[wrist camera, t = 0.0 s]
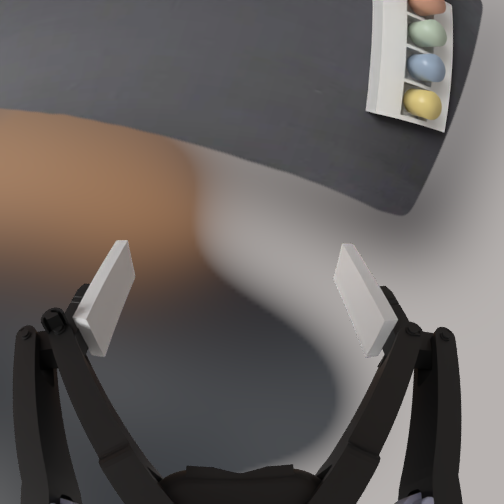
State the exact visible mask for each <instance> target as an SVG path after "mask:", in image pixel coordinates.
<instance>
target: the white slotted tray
mask: <svg viewBox="0 0 504 504" xmlns="http://www.w3.org/2000/svg"><path fill="white" fill-rule="evenodd" d="M445 4H446V10H445V12H444V13H441V14H435V15H430V16H420V15H418V14H416V13H415V12H414V11H413V10H412V9H411V7H410V6H409V3H408V0H373V23H372V47H371V62H370V75H369V86H368V95H367V104H366V111H368V112H372V113H376V114H380V115H384V116H389V117H393V118H397V119H401V120H404V121H408V122H412V123H415V124H419V125H422V126H425V127H429V128H432V129H435V130H438V131H441V132H444V131H445V125H446V119H447V112H448V105H449V96H450V87H451V75H452V57H453V18H452V5H451V4H449V3H447V2H445ZM429 19H433V20H436V21H438V22H439V23H440V24H441V25H442V26H443V28H444V29H445V31H446V35H447V41H446V43H445V45H443V46H436V47H419V46H417V45H416V44H415V43H413V41H412V40H411V38H410V37H409V34H408V27H409V25H410V24H411V23H414V22H419V21H424V20H429ZM413 54H435V55H437V56H438V57H440V59H441V60H442V61H443V63H444V65H445V70H446V73H445V77H444V79H443V80H442V81H441V82H430V81H421V80H416V79H414V78H413V77H412V76H411V75H410V74H409V72H408V69H407V59H408V57H409V56H411V55H413ZM412 88H413V89H421V90H428V91H433V92H435V93H436V94H437V95H438V96H439V98H440V100H441V103H442V111H441V114H440V116H439V117H438V118H437V119H435V120H429V119H426V118H422V117H419V116H415V115H412V114H410V113H409V112H408V111H407V110H406V109H405V107H404V103H403V97H404V94H405V92H406V91H407V90H409V89H412Z"/></svg>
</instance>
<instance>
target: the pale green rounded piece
mask: <svg viewBox="0 0 504 504" xmlns="http://www.w3.org/2000/svg"><path fill="white" fill-rule="evenodd" d="M408 34H409V37H410V38H411V40H412V41H413V43H415V44H416V45H417V46H419V47H436V46H443V45H445V43H446V41H447V35H446V31H445V29H444V28H443V26H442V25H441V24H440V23H439V22H438V21H436V20H433V19H429V20H424V21H419V22H414V23H411V24H410V25H409V27H408Z"/></svg>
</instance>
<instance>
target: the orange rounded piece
mask: <svg viewBox="0 0 504 504" xmlns="http://www.w3.org/2000/svg"><path fill="white" fill-rule="evenodd" d="M408 3H409V6H410V7H411V9H412V10H413V11H414V12H415V13H416V14H418V15H420V16H430V15H435V14H441V13H444V12H445V10H446V4H445V1H444V0H408Z"/></svg>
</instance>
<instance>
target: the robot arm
mask: <svg viewBox="0 0 504 504" xmlns="http://www.w3.org/2000/svg"><path fill="white" fill-rule="evenodd" d="M134 279H135V273H134V268H133V264H132V259H131V255H130V250H129V245H128V241H127V240H117V241H116V242H115V244H114V245H113V247H112V249H111V250H110V252H109V253H108V255H107V257H106V258H105V260H104V262H103V263H102V265H101V267H100V268H99V270H98V272H97V274H96V275H95V277H94V279H93V281H92V282H91V284H84V285H82V286H81V287H80V288H79V289H78V290H77V292H76V294H75V296H74V298H73V299H72V301H71V303H70V305H69V307H68V308H67V310H66V312H65V314H64V312H63V310H62V309H60V308H51V309H49V310H48V311H46V312H45V313H44V314H43V316H42V318H41V323H42V325H43V327H44V329H45V330H46V331H40V332H37V331H36V329H35V328H34V327H33V326H30V325H28V326H24V327H23V328H21V329H20V330H19V331H18V333H17V335H16V342H15V352H14V367H13V417H14V431H15V441H16V450H17V457H18V463H19V469H20V475H21V480H22V487H21V504H82V501H81V494H80V491H79V487H78V483H77V480H76V476H75V473H74V469H73V465H72V462H71V458H70V454H69V449H68V445H67V440H66V435H65V429H64V424H63V418H62V411H61V404H60V398H59V397H60V396H59V388H58V377H57V368H58V369H59V371H60V374H61V377H62V379H63V382H64V385H65V387H66V390H67V393H68V395H69V397H70V400H71V402H72V404H73V407H74V409H75V411H76V413H77V416H78V418H79V420H80V422H81V424H82V426H83V428H84V430H85V432H86V434H87V436H88V438H89V440H90V442H91V444H92V446H93V448H94V449H95V451H96V453H97V455H98V457H99V464H100V467H101V468H102V470H103V472H104V473H105V475H106V476H107V478H108V480H109V481H110V483H111V485H112V486H113V488H114V489H115V491H116V492H117V494H118V495H119V496H120V498H121V499H122V501H123V502H124V503H125V504H356V503H357V501H358V499H359V498H360V497H361V495H362V493H363V492H364V490H365V488H366V486H367V485H368V483H369V481H370V479H371V478H372V476H373V474H374V472H375V470H376V468H377V466H378V464H379V462H380V456H379V454H380V452H381V450H382V447H383V445H384V443H385V441H386V439H387V437H388V435H389V432H390V430H391V428H392V426H393V423H394V421H395V419H396V416H397V414H398V411H399V409H400V406H401V404H402V401H403V398H404V396H405V393H406V390H407V387H408V384H409V381H410V378H411V375H412V372H413V369H414V384H413V398H412V411H411V420H410V429H409V437H408V443H407V450H406V456H405V461H404V467H403V471H402V476H401V481H400V487H399V496H398V501H397V502H396V503H395V504H463V503H462V496H461V489H460V483H459V478H458V473H459V463H460V448H461V391H460V376H459V365H458V357H457V348H456V341H455V336H454V334H453V333H452V332H451V331H450V330H449V329H447V328H445V327H439V328H437V329H436V331H435V332H434V333H429V332H423V331H422V329H421V328H420V327H419V326H418V325H417V324H415V323H413V322H409V321H408V318H407V317H406V315H405V313H404V311H403V310H402V308H401V306H400V305H399V303H398V301H397V300H396V298H395V296H394V295H393V293H392V291H390V290H389V289H388V288H387V287H386V286H379V285H378V283H377V282H376V280H375V278H374V276H373V275H372V273H371V272H370V270H369V268H368V266H367V265H366V263H365V262H364V260H363V258H362V257H361V255H360V254H359V252H358V250H357V249H356V247H355V246H354V244H348V243H342V246H341V250H340V254H339V258H338V262H337V266H336V270H335V275H334V278H333V279H334V281H335V284H336V286H337V288H338V291H339V293H340V295H341V298H342V300H343V302H344V305H345V307H346V310H347V312H348V314H349V317H350V319H351V322H352V324H353V327H354V329H355V332H356V335H357V337H358V340H359V342H360V345H361V347H362V350H363V352H364V355H365V358H368V357H374V356H378V355H379V353H380V352H381V350H382V349H383V351H384V354H385V355H384V357H383V359H382V360H381V362H380V363H379V365H378V370H377V372H376V374H375V376H374V378H373V380H372V382H371V384H370V386H369V388H368V390H367V392H366V394H365V396H364V398H363V400H362V402H361V404H360V406H359V407H358V409H357V411H356V413H355V415H354V417H353V419H352V420H351V423H350V424H349V425H348V427H347V429H346V431H345V432H344V434H343V436H342V437H341V439H340V440H339V442H338V444H337V445H336V447H335V449H334V450H333V452H332V453H331V455H330V456H329V458H328V459H327V461H326V462H325V463H324V464H323V465H322V467H321V468H320V469H319V470H318V472H317V474H316V475H312V474H311V473H309V472H306V471H303V470H299V469H293V465H292V464H291V465H281V466H268V467H264V468H261V469H257V470H253V471H249V472H245V473H234V472H230V471H225V470H221V469H217V468H214V467H197V466H187V467H186V470H183V471H179V472H176V473H173V474H170V475H169V476H167V477H165V478H163V477H162V476H161V475H160V473H159V472H158V471H157V470H156V469H155V468H154V466H153V465H152V464H151V463H150V462H149V460H148V459H147V458H146V456H145V455H144V453H143V452H142V451H141V449H140V448H139V446H138V445H137V444H136V442H135V441H134V439H133V438H132V436H131V435H130V433H129V432H128V430H127V428H126V427H125V425H124V424H123V422H122V420H121V419H120V417H119V415H118V414H117V412H116V410H115V409H114V407H113V406H112V404H111V402H110V400H109V398H108V396H107V395H106V393H105V391H104V389H103V387H102V385H101V383H100V381H99V379H98V378H97V376H96V374H95V372H94V370H93V368H92V365H91V363H90V361H89V359H88V357H87V355H86V353H87V350H88V349H89V350H90V352H91V354H92V355H95V356H101V357H105V355H106V352H107V349H108V346H109V343H110V341H111V338H112V335H113V332H114V329H115V327H116V324H117V321H118V319H119V316H120V313H121V311H122V308H123V305H124V303H125V300H126V298H127V296H128V293H129V291H130V288H131V286H132V283H133V281H134Z"/></svg>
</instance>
